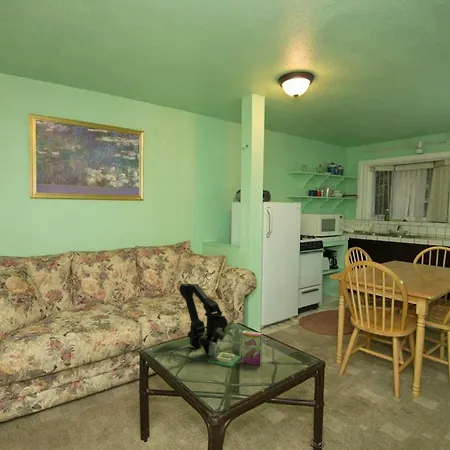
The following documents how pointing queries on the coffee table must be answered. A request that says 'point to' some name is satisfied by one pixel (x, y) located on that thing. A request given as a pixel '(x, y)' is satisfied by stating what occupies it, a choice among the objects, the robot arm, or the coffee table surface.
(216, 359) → the board
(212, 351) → the plug
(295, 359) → the coffee table surface
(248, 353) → the candy bar box
